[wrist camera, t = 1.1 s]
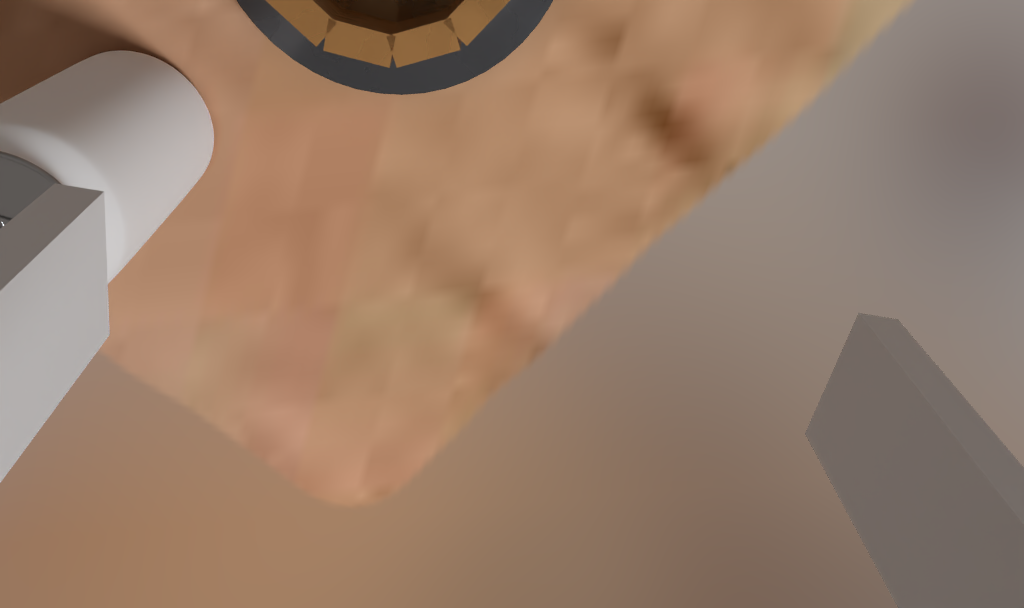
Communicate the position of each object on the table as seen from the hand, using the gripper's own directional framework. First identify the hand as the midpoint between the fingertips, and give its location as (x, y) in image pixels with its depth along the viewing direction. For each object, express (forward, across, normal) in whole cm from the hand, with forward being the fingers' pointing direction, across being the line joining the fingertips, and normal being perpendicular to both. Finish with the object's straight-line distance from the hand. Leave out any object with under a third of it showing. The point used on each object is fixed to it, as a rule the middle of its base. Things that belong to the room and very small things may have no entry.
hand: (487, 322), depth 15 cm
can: (+23, -14, -6) cm, 28 cm away
